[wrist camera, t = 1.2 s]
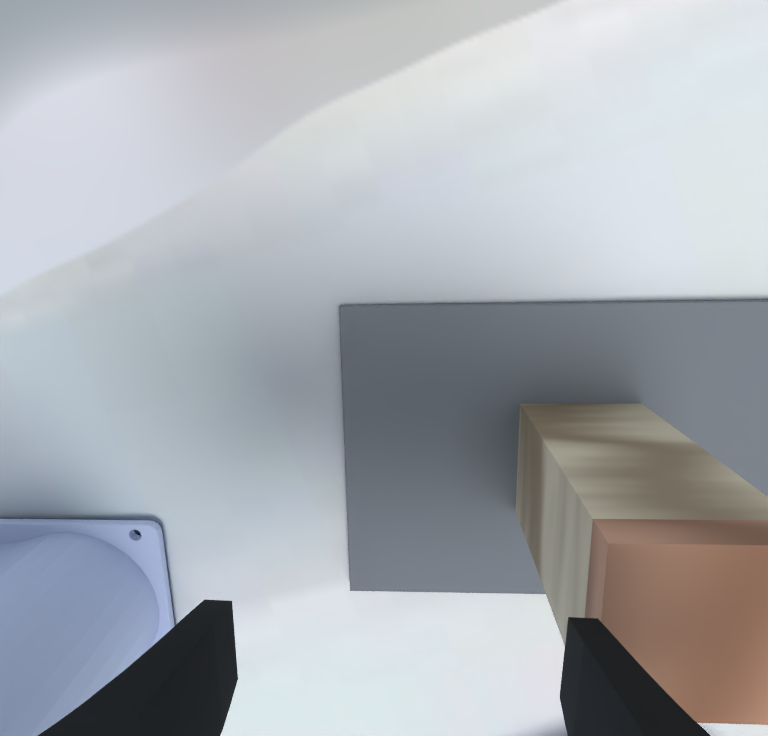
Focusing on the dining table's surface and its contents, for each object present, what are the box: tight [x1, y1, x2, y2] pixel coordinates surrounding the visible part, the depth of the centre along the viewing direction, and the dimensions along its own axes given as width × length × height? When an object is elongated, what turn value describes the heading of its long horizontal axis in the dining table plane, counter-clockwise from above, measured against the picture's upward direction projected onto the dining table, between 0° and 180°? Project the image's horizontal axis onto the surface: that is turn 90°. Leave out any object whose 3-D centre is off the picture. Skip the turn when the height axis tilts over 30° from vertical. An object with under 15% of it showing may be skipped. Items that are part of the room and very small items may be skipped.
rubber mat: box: [339, 300, 768, 594], centre depth 21 cm, size 22×12×1 cm, turn 91°
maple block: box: [516, 403, 768, 725], centre depth 16 cm, size 4×4×10 cm
